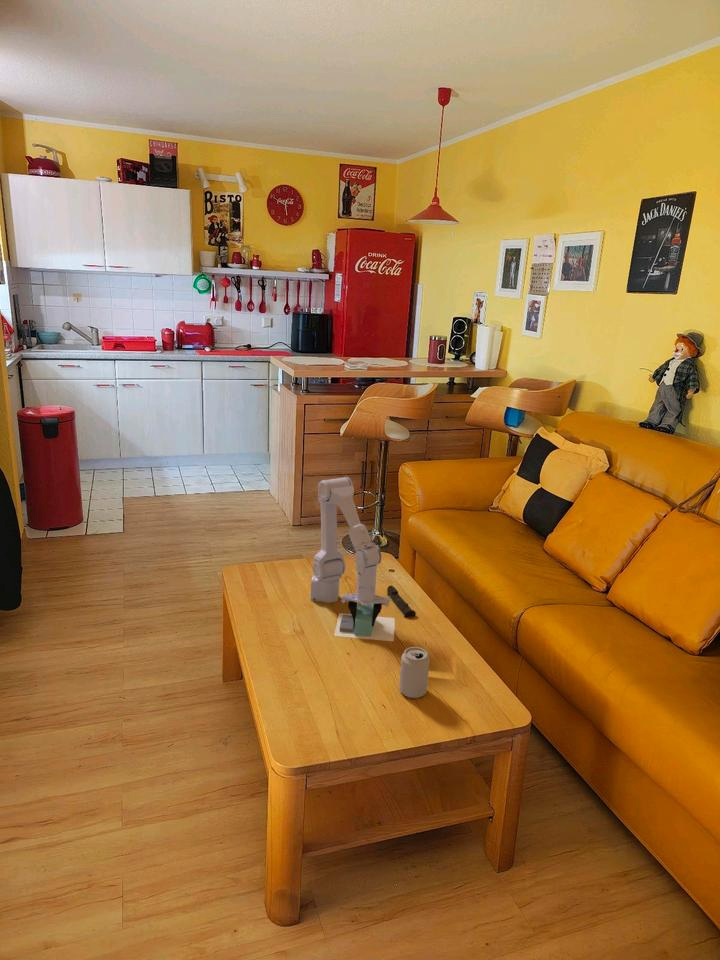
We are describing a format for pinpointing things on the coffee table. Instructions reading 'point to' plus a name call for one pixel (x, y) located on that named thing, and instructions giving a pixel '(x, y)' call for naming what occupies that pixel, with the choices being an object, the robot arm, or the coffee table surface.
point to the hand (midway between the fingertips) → (363, 624)
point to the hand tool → (400, 602)
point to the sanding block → (364, 620)
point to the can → (414, 672)
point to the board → (379, 631)
